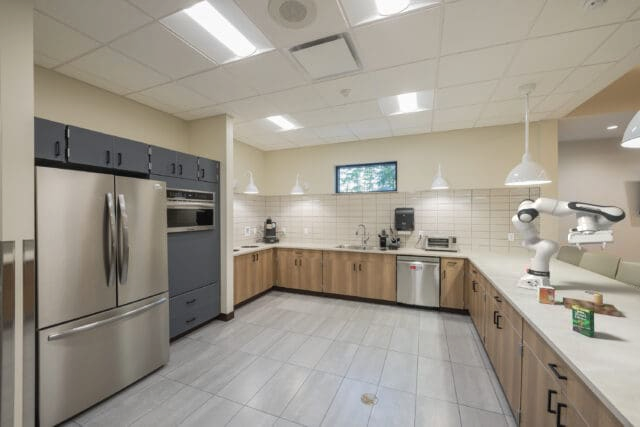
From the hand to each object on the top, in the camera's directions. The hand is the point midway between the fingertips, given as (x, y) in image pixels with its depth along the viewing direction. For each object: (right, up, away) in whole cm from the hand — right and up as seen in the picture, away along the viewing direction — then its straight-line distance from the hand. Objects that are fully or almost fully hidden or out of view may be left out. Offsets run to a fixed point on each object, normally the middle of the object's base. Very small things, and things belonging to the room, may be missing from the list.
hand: (592, 250), depth 159 cm
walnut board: (-6, -36, -4) cm, 37 cm away
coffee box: (-41, -37, -34) cm, 65 cm away
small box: (-23, -36, +8) cm, 43 cm away
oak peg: (-3, -36, -7) cm, 37 cm away
